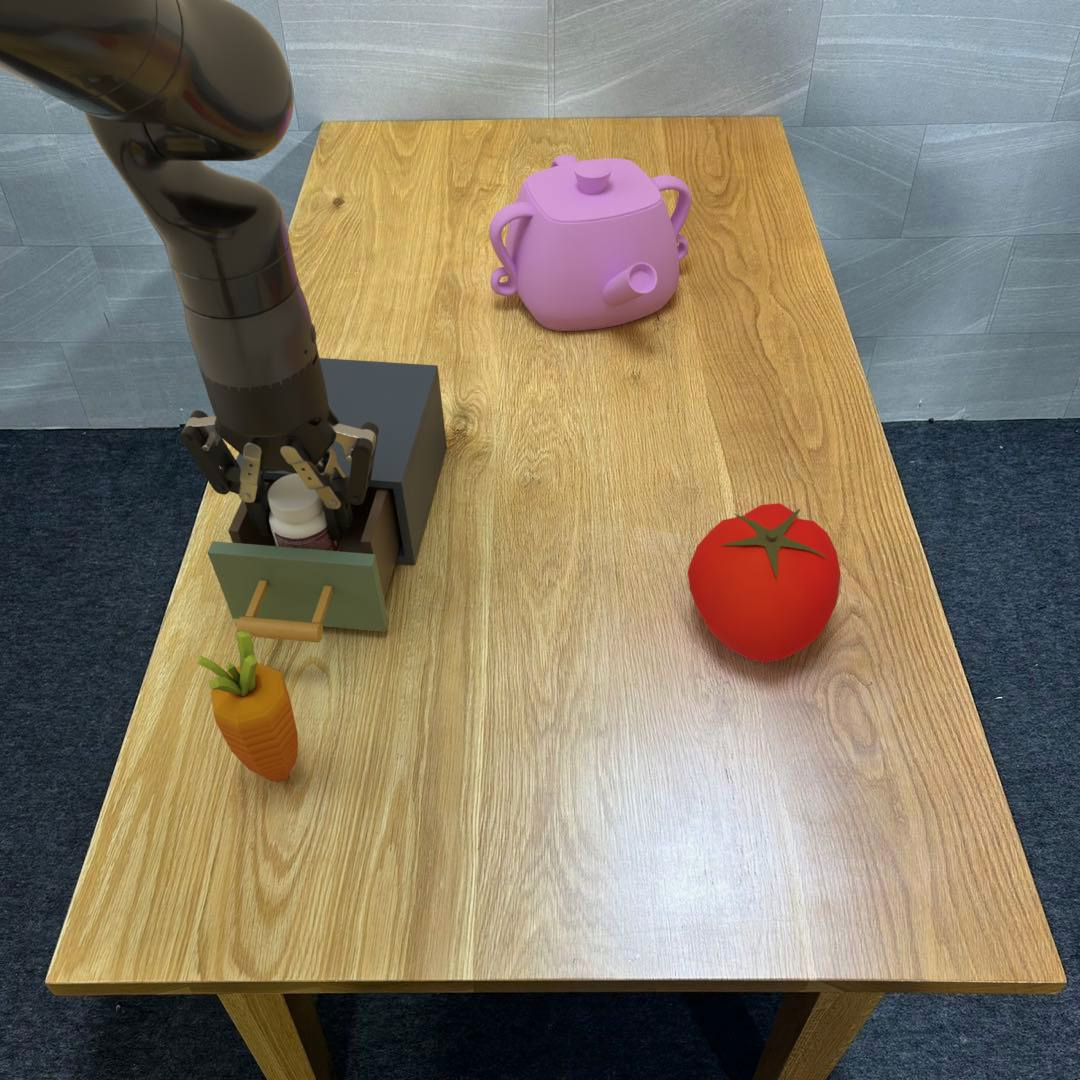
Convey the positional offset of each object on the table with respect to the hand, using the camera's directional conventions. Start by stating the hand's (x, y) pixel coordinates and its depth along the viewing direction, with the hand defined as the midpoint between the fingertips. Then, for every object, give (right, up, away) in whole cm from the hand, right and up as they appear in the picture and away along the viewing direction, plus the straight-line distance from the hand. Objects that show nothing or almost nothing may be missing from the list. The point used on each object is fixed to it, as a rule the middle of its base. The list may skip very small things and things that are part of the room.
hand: (305, 529), depth 78 cm
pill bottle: (0, -3, +3) cm, 5 cm away
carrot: (0, -18, -5) cm, 19 cm away
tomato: (+35, -7, +3) cm, 36 cm away
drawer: (0, -4, +5) cm, 7 cm away
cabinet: (+2, +3, +13) cm, 14 cm away
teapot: (+24, +25, +34) cm, 49 cm away
